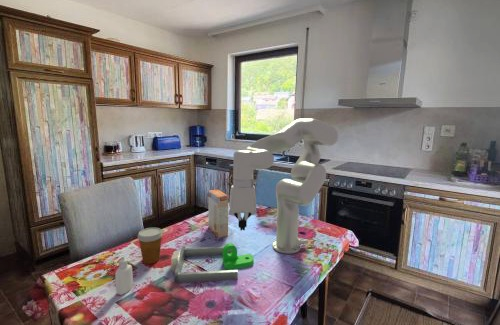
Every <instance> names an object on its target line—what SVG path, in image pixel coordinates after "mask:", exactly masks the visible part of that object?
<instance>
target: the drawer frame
mask: <svg viewBox="0 0 500 325" xmlns="http://www.w3.org/2000/svg"><path fill="white" fill-rule="evenodd" d="M223 248H224V246H205V247H203V246H202V247H186V245H182V246H181V249H180V251H173V253H172V256H171V258H170V260H171V261H170V264H171V266H170V267H171V269H170V270H171V272H172V273H174V283H175V284H178V283H179V284H180V283H197V282H198V283H200V282H213V281H214V282H215V281H216V282H217V281H233V280H234V281H235V280H238V279H239V272H238V271H239V270H238V269H232V270H226V269H225V270H210V271H192V272H191V271H190V272H189V271H188V272H187V271H186V272H182V270H183V266H184V262H185V257H199V256H220V255H222V256H223ZM231 252H232V249H230V250H228V252H227V253H228V254H230V253H231Z"/></svg>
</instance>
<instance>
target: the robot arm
mask: <svg viewBox="0 0 500 325" xmlns="http://www.w3.org/2000/svg"><path fill="white" fill-rule="evenodd" d="M302 140H303V152H302V153H301V154H300V156H299V158H298V159H297V161H296V162H295V163H294V165H293V166H292V168H291V169H290V170H291V171H290V176H291V178H292V179H290V178H283V179H281V180H279V181H278V182H277V183H276V187H275V197H276V204H277V207H276V208H277V210H276V211H277V212H276V234H275V235H276V238H275V241H273V242H272V248H273V249H274V250H275V251H276V252H278V253H281V254H286V255H291V254H292V255H293V254H297V253H298V252H300V251H301V247H302V246H301V245H308V244H309V241H308V239H304V238H302V237H299V236H298V234H299V232H298V231H299V215H300V214H299V213H300V210H299V206H302V207H307V206H309V205H310V204H311V203H312V202H313V201H314V199H315V198H316V196H317V195H318V193H319V191H320V190H321V188H322V187H323V185H324V183H325V181H326V178H327V169H326V168H325V166H324V165H322V164H320V161H321V152H320V150H319V146H326V147H327V146H328V147H330V146H334V145H335V144H336V143H337V141H338V140H339V132H338V130H337V128H336V127H334V126H333V125H330V124H329V123H327V122H324V121H322V120H320V119H317V118H297V119H295V120H293V121H292V122H290V123H289V124H288V125H286V126H284V128H282V129H280V130H279V131H278V132H276V133H272V134H270V135H268V136H265V137H263V138H260V139H258V140H256V141H254V142H252V143H251V144H250V145H248V146H247V147H245V148H244V149H240V150H235V151H234V153H233V164H232V165H233V173H232V174H233V176H232V178H233V179H232V181H233V184H232V185H231V186H230V191H229V200H228V216H233V217H235V218H236V219H237V220H238V228H239V229H240V231H245V230H246V228H247V226H248V225H247V224H248V222H247V221H248V220H249V218H250V217H251V216H255V215H257V194H256V187H255V184H257V183H258V180H257V179H254V170H266V169H267V170H268V169H270V167H272V166H273V164H274V161H275V156H274V154H273V153H279V152H284V151H288V150H290V149H292V148H293V147H295V145H297V144H298V143H299V142H300V141H302ZM242 214H243V217H242Z"/></svg>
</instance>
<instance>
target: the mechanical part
mask: <svg viewBox="0 0 500 325" xmlns="http://www.w3.org/2000/svg"><path fill="white" fill-rule="evenodd" d="M223 247H224V248H223V255H222V264H223V266H224V268H225V270H238V269H241V268H247V267H251V266H253V265H254V264H255V263H254V260H255V259H254V257H253V255H252V254H251V253H247V254H240V255H238V248H237V247H236V245H235V244H234V243H231V242H229V243H227V244H225V245H224V246H223ZM230 249H232V252H231V253H230V254H228V253H227V252H228V250H230Z"/></svg>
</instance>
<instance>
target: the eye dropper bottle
mask: <svg viewBox="0 0 500 325" xmlns="http://www.w3.org/2000/svg"><path fill="white" fill-rule="evenodd" d="M118 264H119V265H118V268H117V270H116V271H115V276H114V277H115V292H116V294H117V295H120V296H123V295H125V294H127V293H128V292H129V291H130V290H132V288H133V286H134V278H133V267H132V265H131V264H128V259H127V258H125V255H122V256H121V259H119V261H118Z"/></svg>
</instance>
